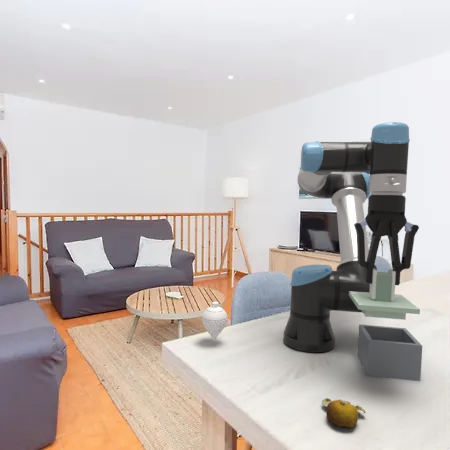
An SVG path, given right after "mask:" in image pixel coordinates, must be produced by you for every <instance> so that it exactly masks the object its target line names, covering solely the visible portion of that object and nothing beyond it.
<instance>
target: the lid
mask: <svg viewBox="0 0 450 450" xmlns="http://www.w3.org/2000/svg"><path fill="white" fill-rule="evenodd" d="M391 291H392V275H391V274H390V273H388V271H387V272H386V271H377V279H376V299H371V298H370V296H369V293H368V292H353V291H349V296H350V298H351V299H352V301H353V302H354V304H355V305H356V306H357V308H358V309H359V310H362V312H363V313H362V312H361V313H362V314H363V315H364V316H365V317H366V318H381V319H393V320H407V319H406V318H407V316H406V315H407V314H413V315H420V314H421V313H420V312H421V309H420V308H419V307H418V306H416V304H414V303H412V301H410V300H408V299H407V298H406V297H405V296H404V295H402V294H396V293H395V295H394V301H391Z"/></svg>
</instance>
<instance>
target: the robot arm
mask: <svg viewBox="0 0 450 450" xmlns="http://www.w3.org/2000/svg"><path fill="white" fill-rule="evenodd" d="M371 129H372V130H371V136H370V141H310V142H305V143H303V144H302V146H301V152H300V153H301V154H300V170H299V172H298V175H297V184H298V187H299V188H300V190H301V191H302V192H304V193H306V194H307V195H308V196H312V197H313V198H319V199H330V200H331V204H332V205H333V206H335V207H336V218H337V228H338V229H337V231H338V241H339V243H338V244H339V255H340V263H339V264H337V266H336V268H335V269H336V270H333V268H332V266H331V265H329V264H307V265H302V266H298V267H296V268H294V269H293V271H292V273H291V282H290V286H291V288H290V289H291V291H290V307H289V316H288V317H289V318H288V320H287V322H286V326H285V328H284V330H283V334H282V335H283V338H282V339H283V342H284V343H285V345H287V346H289V347H291V348H293V349H295V350H298V351H302V352H306V353H307V352H308V353H325V352H329V351H331V350H333V349H334V348H335V344H336V337H335V334H334V330H333V327H332V323H331V319H330V318H331V317H330V316H331V313H330V312H331V311H337V312H348V313H349V312H352V313H362V314H364V313H363V312H362V310H359V309H358V308H357V306H356V305H355V304H354V302H353V301H352V299H351V298H350V296H349V291H353V292H368V293H369V296H370V298H371V299H376V279H377V272H378V269H377V268H378V267H377V265H376V259H377V255H378V251H379V247H380V242H381V239H382V237H385V236H387V239H388V243H389V251H390V260H391V268H392V269H388V271H387V272H388V273H390V274H391V275H392V291H391V301H394V295H395V294H396V293H395V291H396V286H400V284H401V272H402V271H403V270H408V269H410V268H411V263H412V255H413V249H414V242H415V237H416V234H417V232H418V231H419V229H420V226H419V225H418V224H413V223H410V222H409V221H408V220H407V219H408V218H406V215H405V213H406V202H407V201H406V200H407V199H406V198H407V197H406V196H405V195H403V194H405V193H407V192H406V191H407V177H408V161H409V147H410V127H409V125H408V124H407V123H405V122H399V121H397V122H395V121H392V122H383V123H378V124H376V125H375V126H373V127H372V128H371ZM367 199H368V200H367ZM366 200H367V201H368V203H367V205H368V206H367V215H366V216H365V212H364V211H365V210H364V205H363V204H365V202H366ZM366 226H367V227H368V228H369V229H370V231H371V239H370V244H369V242H368V234H367V228H366ZM403 228H404V231H405V235H404V241H403V245H402V247H403V249H402V253H401V256H400V246H399V233H400V232H401V231H402V229H403Z"/></svg>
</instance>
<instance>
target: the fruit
mask: <svg viewBox="0 0 450 450" xmlns="http://www.w3.org/2000/svg"><path fill="white" fill-rule="evenodd" d="M321 403H322V406H323V407H326V412H325V415H326V418H327V421H328V422H329V424H330V425H332V426H335V427H340V428H341V427H347V428H348V427H349V428H350V429H352V428H353V427H354V428H355V427H356V426H357V423H358V421H359V411H360V412H362V413H361V414H365V413H366V410H365V409H364V408H363V407H361V406H360V405H354V404H351V402H350V401H347V400H342V399H335V400H331V398H324V399H323V400H321Z"/></svg>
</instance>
